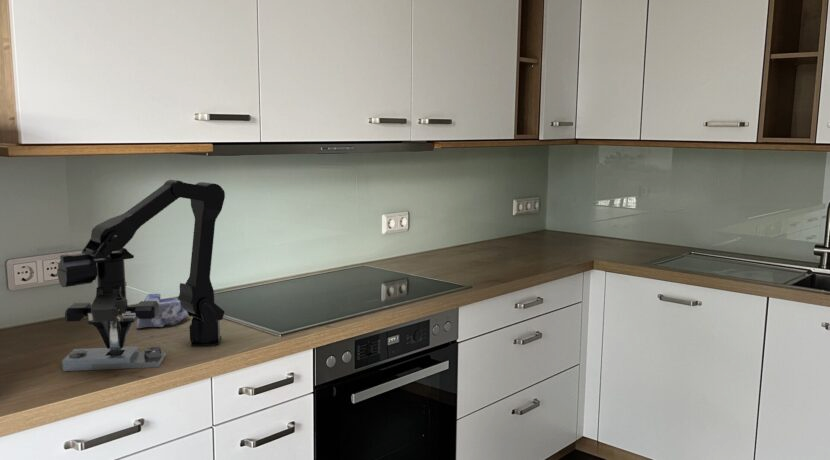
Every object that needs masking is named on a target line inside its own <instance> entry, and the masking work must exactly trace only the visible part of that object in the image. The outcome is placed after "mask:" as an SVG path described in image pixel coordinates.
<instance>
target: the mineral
mask: <svg viewBox="0 0 830 460" xmlns="http://www.w3.org/2000/svg"><path fill="white" fill-rule="evenodd" d="M161 295H162V294H161V293H148V294H147V295H146V296H145V298H144V300H143V301H157V302H158V304H159V313H158V314H157V316H156V317H155V318H152V319H139V318H137V320H136V328H137V329H142V328H149V327H151V328H157V327H159V328H163V327H164V326H165V325H167V326H175V325H177V324H178V323H180V322H181V321H182V320H184V319H186V318H187V317H189V315H188V313H187V311H186V310H184V309H183V308H182V306H181V304H180V300H179V299H178V297H174V298H173V297H172V298H162V299H161Z"/></svg>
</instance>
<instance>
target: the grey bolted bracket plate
mask: <svg viewBox="0 0 830 460" xmlns="http://www.w3.org/2000/svg"><path fill="white" fill-rule="evenodd" d="M121 349H122V355H110V351H109V349H107V347H93V348H92V347H91V348H74V349H72V351H70V352H68V354H67V355H66V356H65V357H64V358H63V359H62V360H61V361H62V362H61V363H62V371H63V372H71V371H72V372H74V371H75V372H76V371H95V370H97V371H99V370H118V369H119V370H121V369H143V368H145V369H146V368H159V367H160V366H161V364H162V362H163V361H164V359H165V357H166V354H167V353H166V350H162V348H161V347H157V346H151V347H148V348H145V349H144V350H143V351H139V346H124V347H123V348H121Z"/></svg>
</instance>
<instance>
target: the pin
mask: <svg viewBox="0 0 830 460" xmlns="http://www.w3.org/2000/svg"><path fill="white" fill-rule="evenodd" d="M120 320H121V318H120V316H117V319H116V320H114V321H108V335H109V351H110V355H122V349H121V347H120V329H121V326H120V322H119V321H120Z"/></svg>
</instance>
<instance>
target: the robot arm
mask: <svg viewBox="0 0 830 460" xmlns="http://www.w3.org/2000/svg"><path fill="white" fill-rule="evenodd" d="M180 198H183V199H189V200H190V207H191V208H190V209H191V211H192V213H193V216H194V227H193V237H192V246H191V258H190V259H191V260H190V267H189V268H190V269H189V270H190V271H189V277H188V279H186V282H185V283H182V282H179V295H178V297H177V298H178V299H179V300H180V304H181V306H182V308H183V309H184V310H186V311H187V313H188V317H191V318H192V319H191V323H190V324H189V327H188V328H189V341H190V342H191V343H190V346H191V347H200V346H203V347H204V346H219V344H220V342H221V339H222V335H221V326H220V325H221V323H220V321H222V320H223V319H224V316H225V315H224V314H225V310H224V309H222V308H221V307H220V306H218V304H216V302H215V301H216V300H215V290H214V286H213V285H212V281H211V271H212V270H211V269H212V268H211V267H212V260H213V259H212V258H213V250H214V249H213V248H214V239H215V226H216V221H217V219H218V216H220V213H221V211H222V209H223V206H224V202H225V199H226V192H225V189H223V188H222V186H220V185H219V184H217V183H212V182H203V181H202V182H197V183H195V184H194V183H187V182H183V181H182V180H178V179H176V180H175V179H169V180H166V181H165V182H164V183H163V184H162V185H161V186H160V187H158V188H157V189H156V190H154V191H153V192H151V193H150V194H149V195H148V196H146V197H145V198H143V199H142V200H140V201H139V202H138V203H136V204H135V205H133V206H132V207H131V208H130V209H128V210H126V212H124V213H122V214H120V215H117V216H114V217H111V218H108V219H107V220H104V221H103V222H100V223H98V224H97V225H95V226H94V227H93V228H92V229H91V234H90V238H89V240H88V242H87V243H86V244H85V247H84V248H83V249H82V251H81V253H77V254H76V253H75V254H61V255H59V258H60V259H59V262H58V266H57V270H56V272H57V273H56V275H57V279H58V282H59V285H60V286H61V288H69V287H76V286H81V285H87V284H88V285H89V284H92V283H93V282H94V281H97V282H96V283H97V286H96V292H95V293H96V294H95V298H94V299H93V302H92V304H91V303H90V302H75V303H73V304H71V305H70V306H69V307H67V308H66V309H65V312H64V319H65V322H81V321H82V320H83V318H85V317H86V316H87V317H88V321H87V324H88V325H93V326H94V327H95V328H96V329H97V331H98V333H99V335H100V336H101V339H102V341H103V343H104V345H105V348H107V349H109V335H108V321H114V320H116V319H117V317H118V316H120V315H121V317H122V318H120V321H119V322H120V347H121V348H123V347H125V344H126V340H127V338H128V334H129V331H130V328H131V325H132V323H135V322H136V321H137V320H138V318H139V319H152V318H155V317H156V316H157V314H158V313H159V304H158V302H157V301H144V300H141V301H139V302H138V304H137V305H128V299H127V289H126V287H127V281H126V269H125V260H130V259H135V255H134V254H132V253H130V252H129V250H128V249H127V248H125V246H127V244H129V242H130V241H131V240H132V239H133V238H134V236H135V235H136V232H137V231H138V230H139V229H140V228H141V227H142V226H143V225H144V224H146V223H147V222H149V221H150V220H151V219H153V218H154V217H155V216H157V215H158V214H159V213H161V212H162V211H163V210H164V209H166V208H167V207H168V206H170V205H171V204H173V203H174V202H175V201H177V200H178V199H180Z"/></svg>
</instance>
